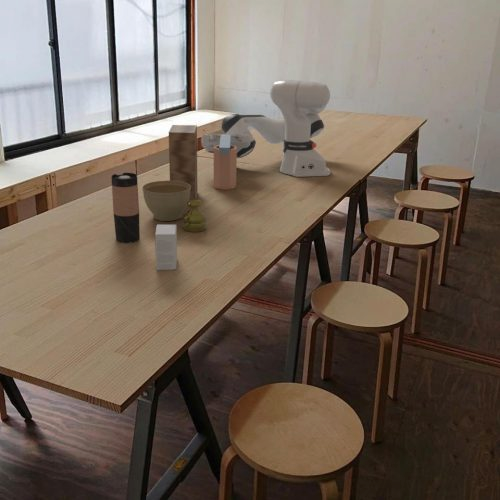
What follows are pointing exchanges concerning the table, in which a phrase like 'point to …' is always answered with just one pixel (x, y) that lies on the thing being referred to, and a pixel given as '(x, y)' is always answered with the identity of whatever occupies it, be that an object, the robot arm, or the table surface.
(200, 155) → the table surface
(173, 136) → the stand
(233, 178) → the crock
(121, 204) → the travel mug
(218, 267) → the table surface
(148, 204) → the planter bowl
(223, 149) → the lid slat
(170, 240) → the small box
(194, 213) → the olive green tiered figure
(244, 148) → the robot arm
